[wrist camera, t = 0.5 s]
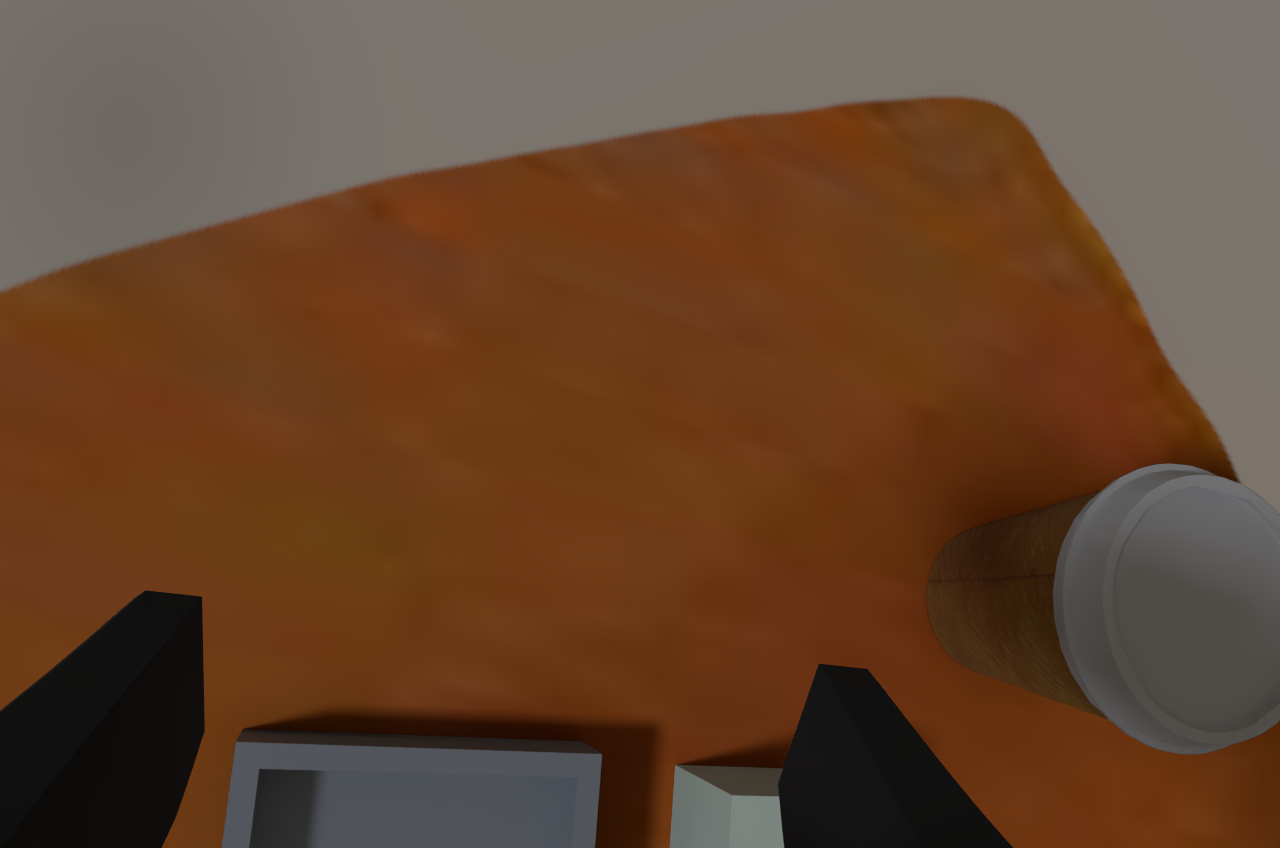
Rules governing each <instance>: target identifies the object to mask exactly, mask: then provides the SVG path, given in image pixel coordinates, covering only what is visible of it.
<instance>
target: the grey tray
mask: <svg viewBox="0 0 1280 848" xmlns="http://www.w3.org/2000/svg"><path fill="white" fill-rule="evenodd" d="M601 763H602V754H601V753H600V752H598V751H596V750H595V749H593V748H592V747H590V746H589V745H587V744H585V743H584V742H582V741H558V740H531V739H504V738H477V737H449V736H422V735H395V734H368V733H341V732H314V731H287V730H259V729H243V730H242V732H241V734H240V736H239V737H238V739H237V741H236V745H235V753H234V760H233V768H232V775H231V783H230V790H229V798H228V805H227V813H226V820H225V828H224V835H223V843H222V848H595V841H596V828H597V815H598V802H599V789H600V776H601Z"/></svg>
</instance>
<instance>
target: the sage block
mask: <svg viewBox="0 0 1280 848" xmlns="http://www.w3.org/2000/svg"><path fill="white" fill-rule="evenodd" d="M782 771H783V768H757V767H725V766H693V765H675V777H674V792H673V808H672V823H671V838H670V848H784V841H783V833H782V823H781V812H780V801H779V790H778V782H779V779H780V776H781V773H782Z"/></svg>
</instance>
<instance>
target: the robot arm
mask: <svg viewBox="0 0 1280 848" xmlns="http://www.w3.org/2000/svg"><path fill="white" fill-rule="evenodd" d="M204 731H205V724H204V674H203V625H202V597H200V596H191V595H182V594H173V593H164V592H154V591H144V592H143V593H141V594H140V595H138V596H137V597H135V598H134V599H133V600H132V601H131V602H130V603H128V604H127V605H126V606H125V607H124V608H123V609H121V610H120V611H119V612H118V613H117V614H116V615H114V616H113V617H112V618H111V619H110V620H109V621H108V622H106V623H105V624H104V625H103V626H102V627H101V628H99V629H98V630H97V631H96V632H95V633H94V634H93V635H91V636H90V637H89V638H88V639H87V640H86V641H84V642H83V643H82V644H81V645H80V646H79V647H77V648H76V649H75V650H74V651H73V652H71V653H70V654H69V655H68V656H67V657H66V658H64V659H63V660H62V661H61V662H60V663H58V664H57V665H56V666H55V667H54V668H53V669H51V670H50V671H49V672H48V673H46V674H45V675H44V676H43V677H42V678H40V679H39V680H38V681H37V682H35V683H34V684H33V685H32V686H30V687H29V688H28V689H27V690H25V691H24V692H23V693H22V694H20V695H19V696H18V697H17V698H15V699H14V700H13V701H12V702H10V703H9V704H8V705H7V706H6V707H4V708H3V709H2V710H1V711H0V848H162V846H163V844H164V841H165V839H166V837H167V835H168V833H169V831H170V828H171V826H172V824H173V822H174V820H175V817H176V815H177V812H178V809H179V807H180V804H181V801H182V798H183V795H184V792H185V789H186V786H187V783H188V780H189V777H190V774H191V771H192V768H193V765H194V762H195V759H196V756H197V753H198V750H199V746H200V743H201V740H202V737H203V734H204ZM778 790H779V801H780V812H781V823H782V833H783V841H784V848H1013V847H1012V846H1011V845H1010V844H1009V843H1008V842H1007V841H1006V839H1005V838H1004V837H1003V836H1002V835H1001V834H1000V833H999V831H998V830H997V829H996V828H995V827H994V826H993V825H992V823H991V822H990V821H989V820H988V819H987V818H986V817H985V815H984V814H983V813H982V812H981V811H980V810H979V808H978V807H977V806H976V805H975V804H974V802H973V801H972V800H971V799H970V798H969V796H968V795H967V794H966V793H965V792H964V790H963V789H962V788H961V787H960V786H959V784H958V783H957V782H956V781H955V779H954V778H953V777H952V776H951V775H950V773H949V772H948V771H947V770H946V768H945V767H944V766H943V765H942V763H941V762H940V761H939V760H938V758H937V757H936V756H935V755H934V753H933V752H932V751H931V750H930V748H929V747H928V746H927V744H926V743H925V742H924V741H923V739H922V738H921V737H920V736H919V734H918V733H917V732H916V730H915V729H914V728H913V727H912V725H911V724H910V723H909V721H908V720H907V719H906V718H905V716H904V715H903V714H902V712H901V711H900V710H899V709H898V707H897V706H896V705H895V703H894V702H893V701H892V700H891V698H890V697H889V696H888V694H887V693H886V692H885V691H884V689H883V688H882V687H881V685H880V684H879V683H878V682H877V680H876V679H875V678H874V677H873V676H872V674H871V673H870V672H869V671H868V669H863V668H853V667H844V666H835V665H826V664H819V665H818V668H817V671H816V674H815V677H814V680H813V683H812V685H811V688H810V691H809V694H808V697H807V700H806V703H805V706H804V709H803V712H802V715H801V718H800V721H799V724H798V727H797V729H796V732H795V735H794V738H793V741H792V744H791V747H790V750H789V753H788V756H787V759H786V762H785V765H784V768H783V771H782V773H781V776H780V779H779V782H778Z"/></svg>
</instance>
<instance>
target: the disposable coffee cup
mask: <svg viewBox="0 0 1280 848" xmlns="http://www.w3.org/2000/svg"><path fill="white" fill-rule="evenodd" d="M927 608H928V613H929V619H930V622H931V625H932V628H933V630H934V633H935V635H936V637H937V638H938V640H939V642H940V644H941V645H942V647H943V648H944V649H945V650H946V651H947V652H948V653H949V654H950V656H951V657H952V658H953V659H954V660H956V661H957V662H958V663H959V664H961V665H962V666H964V667H966V668H968V669H970V670H973V671H975V672H978V673H981V674H984V675H987V676H989V677H992V678H995V679H998V680H1000V681H1003V682H1006V683H1009V684H1011V685H1014V686H1017V687H1019V688H1022V689H1025V690H1027V691H1030V692H1032V693H1036V694H1038V695H1041V696H1044V697H1047V698H1049V699H1052V700H1056V701H1058V702H1061V703H1064V704H1067V705H1069V706H1072V707H1075V708H1077V709H1080V710H1082V711H1085V712H1088V713H1091V714H1094V715H1097V716H1100V717H1103V718H1105V719H1108V720H1110V721H1111V722H1112V723H1113V724H1115V725H1116V726H1117V727H1118V728H1120V729H1121V730H1122V731H1123V732H1124V733H1126V734H1127V735H1129V736H1131V737H1133V738H1135V739H1136V740H1138V741H1140V742H1142V743H1144V744H1146V745H1147V746H1150V747H1153V748H1156V749H1159V750H1162V751H1168V752H1173V753H1178V754H1203V753H1207V752H1211V751H1214V750H1218V749H1222V748H1226V747H1227V746H1229V745H1231V744H1235V743H1240V742H1242V741H1245V740H1247V739H1250V738H1253V737H1255V736H1258V735H1260V734H1262V733H1264V732H1265V731H1266V730H1268V729H1269V728H1271V727H1272V726H1274V725H1275V724H1277V723H1278V722H1279V721H1280V514H1279V513H1278V512H1277V511H1276V509H1275V508H1273V507H1272V506H1271V505H1270V504H1268V503H1267V502H1266V501H1265V500H1264V499H1262V498H1261V497H1260V496H1259V495H1257V494H1256V493H1254V492H1253V491H1252V490H1250V489H1249V488H1247V487H1246V486H1244V485H1241V484H1239V483H1236V482H1234V481H1231V480H1229V479H1226V478H1224V477H1218V476H1216V475H1214V474H1213V473H1211V472H1209V471H1206V470H1203V469H1199V468H1196V467H1193V466H1189V465H1179V464H1157V465H1152V466H1147V467H1143V468H1139V469H1137V470H1135V471H1133V472H1131V473H1129V474H1126V475H1124V476H1122V477H1120V478H1118V479H1116V480H1114V481H1113V482H1111V483H1110V484H1109V485H1108V486H1107V487H1105V488H1104V489H1103V490H1102V491H1100V492H1095V493H1092V494H1090V495H1084V496H1081V497H1079V498H1074V499H1071V500H1069V501H1063V502H1061V503H1059V504H1053V505H1051V506H1048V507H1044V508H1041V509H1038V510H1033V511H1031V512H1028V513H1023V514H1021V515H1018V516H1014V517H1011V518H1006V519H1004V520H1001V521H996V522H994V523H989V524H986V525H983V526H980V527H976V528H971V529H969V530H966V531H964V532H962V533H960V534H958V535H957V536H956V537H954V538H953V539H951V540H950V541H949V542H948V543H947V545H946V546H945V547H944V548H943V549H942V551H941V552H940V553H939V555H938V556H937V558H936V560H935V562H934V564H933V567H932V569H931V572H930V575H929V581H928V588H927Z"/></svg>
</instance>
